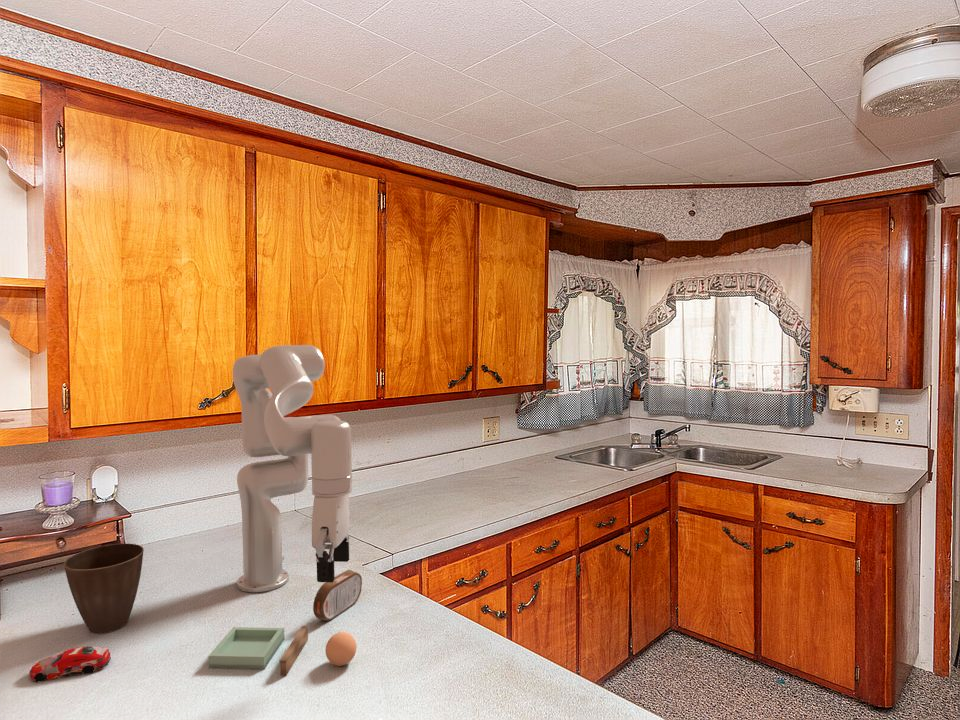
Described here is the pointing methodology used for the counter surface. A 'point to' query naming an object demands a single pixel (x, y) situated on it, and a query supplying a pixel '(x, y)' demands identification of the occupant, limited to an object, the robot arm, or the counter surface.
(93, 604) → the plant pot
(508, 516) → the counter surface
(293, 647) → the rail
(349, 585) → the tin
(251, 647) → the tray
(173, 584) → the counter surface
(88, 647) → the race car
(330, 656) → the ball
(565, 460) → the counter surface
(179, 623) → the counter surface
